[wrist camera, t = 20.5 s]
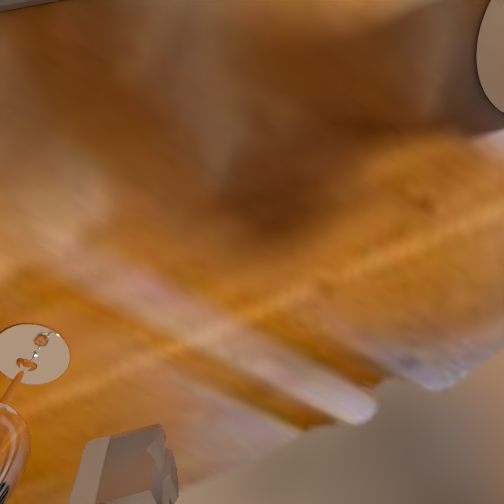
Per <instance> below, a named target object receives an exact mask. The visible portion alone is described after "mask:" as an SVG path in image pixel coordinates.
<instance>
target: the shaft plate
mask: <svg viewBox="0 0 504 504" xmlns="http://www.w3.org/2000/svg"><path fill="white" fill-rule="evenodd" d="M54 1H59V0H0V12H1V11H6V10H12V9H17V8H22V7H28V6H33V5H38V4H44V3H49V2H54Z"/></svg>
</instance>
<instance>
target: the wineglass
mask: <svg viewBox="0 0 504 504" xmlns="http://www.w3.org/2000/svg"><path fill="white" fill-rule="evenodd" d="M70 356H71V355H70V349H69V347H68V345H67V343H66V341H65V340H64V339H63V337H61V336H60V335H59V334H58V333H57V332H55V331H54V330H52V329H50V328H48V327H45V326H42V325H38V324H19V325H15V326H12V327H10V328H7V329H6V330H4V331H3V332H1V333H0V371H1V372H2V373H3V374H4V375H5V376H7V377H8V378H10V379H12V380H13V381H12V382H11V384H10V386H9V387H8V389H7V391H6V392H5V394H4V395H3V397H2V398H1V400H0V504H7V502H8V501H9V499H10V497H11V496H12V494H13V492H14V491H15V489H16V487H17V485H18V484H19V482H20V480H21V478H22V476H23V474H24V472H25V469H26V466H27V463H28V460H29V457H30V454H31V434H30V430H29V428H28V426H27V424H26V422H25V420H24V418H23V417H22V416H21V415H20V413H18V412H17V411H16V410H14V409H13V408H11V407H9V406H8V405H9V402H10V400H11V398H12V396H13V394H14V393H15V391H16V389H17V387H18V386H19V384H20V383H24V384H32V385H36V384H44V383H48V382H51V381H53V380H55V379H57V378H58V377H60V376H61V375H62V374H63V373H64V372H65V371H66V369H67V368H68V366H69V363H70Z"/></svg>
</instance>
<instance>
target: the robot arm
mask: <svg viewBox="0 0 504 504" xmlns="http://www.w3.org/2000/svg"><path fill="white" fill-rule="evenodd" d="M477 70H478V75H479V79H480V82H481V85H482V88H483V90H484V92H485V94H486V96H487V97H488V99H489V100H490V101H491V102H492V104H493V105H494V106H495V107H496V108H498V109H499V110H500V111H502V112H503V113H504V0H491V2H490V4H489V6H488V8H487V10H486V12H485V15H484V18H483V21H482V24H481V27H480V31H479V36H478V42H477ZM165 443H166V435H165V432H164V430H163V428H162V425H160V424H154V425H150V426H146V427H141V428H137V429H133V430H129V431H124V432H120V433H116V434H113V435H110V436H106V437H102V438H97V439H93V440H90V441H89V442H88V443H87V445H86V446H85V448H84V452H83V455H82V458H81V462H80V465H79V469H78V472H77V476H76V479H75V482H74V486H73V489H72V493H71V496H70V500H69V503H68V504H174V503H175V502H176V500H177V499H178V497H179V483H178V474H177V467H176V463H175V459H174V456H173V453H172V451H171V450H170V449H168V448H166V447H165Z"/></svg>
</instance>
